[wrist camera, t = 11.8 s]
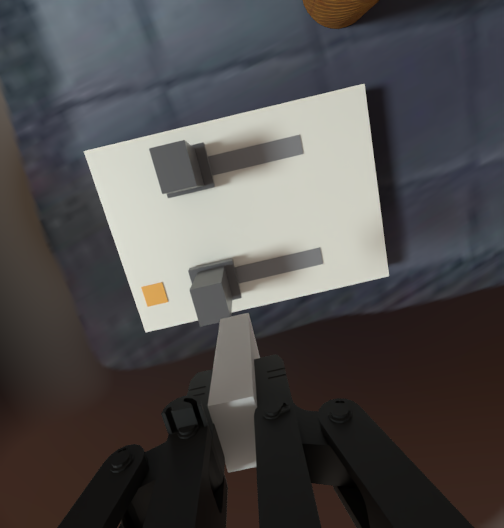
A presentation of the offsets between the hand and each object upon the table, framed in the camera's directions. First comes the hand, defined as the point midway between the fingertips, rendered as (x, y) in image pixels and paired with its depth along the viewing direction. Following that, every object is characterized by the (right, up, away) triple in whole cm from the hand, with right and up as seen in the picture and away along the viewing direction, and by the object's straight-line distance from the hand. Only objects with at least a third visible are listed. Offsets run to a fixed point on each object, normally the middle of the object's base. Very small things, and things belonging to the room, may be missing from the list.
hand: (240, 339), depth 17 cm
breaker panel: (0, +9, +15) cm, 17 cm away
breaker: (-5, +12, +10) cm, 16 cm away
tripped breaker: (-3, +2, +13) cm, 13 cm away
